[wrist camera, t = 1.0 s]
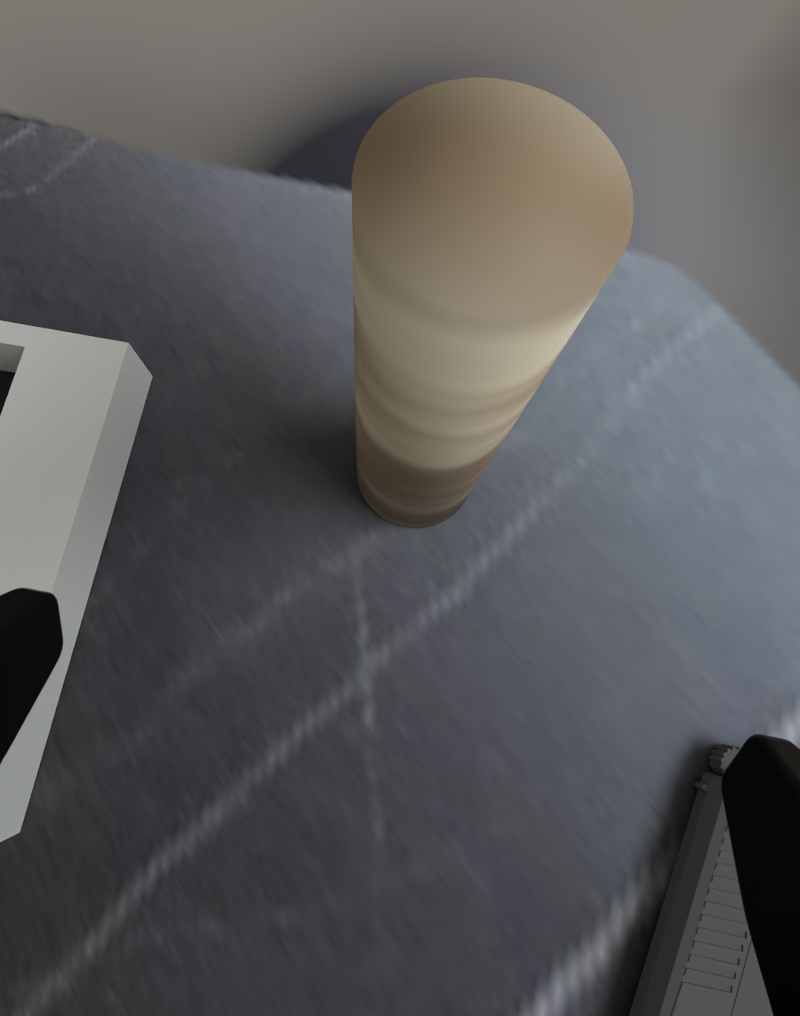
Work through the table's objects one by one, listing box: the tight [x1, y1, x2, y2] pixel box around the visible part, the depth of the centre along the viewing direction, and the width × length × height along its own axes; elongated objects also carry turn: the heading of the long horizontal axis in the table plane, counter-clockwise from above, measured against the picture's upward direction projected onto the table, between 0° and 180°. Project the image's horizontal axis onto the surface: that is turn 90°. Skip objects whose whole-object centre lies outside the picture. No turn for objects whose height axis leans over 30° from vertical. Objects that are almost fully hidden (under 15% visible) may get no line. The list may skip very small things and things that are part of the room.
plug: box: [352, 78, 634, 528], centre depth 16 cm, size 4×4×14 cm
